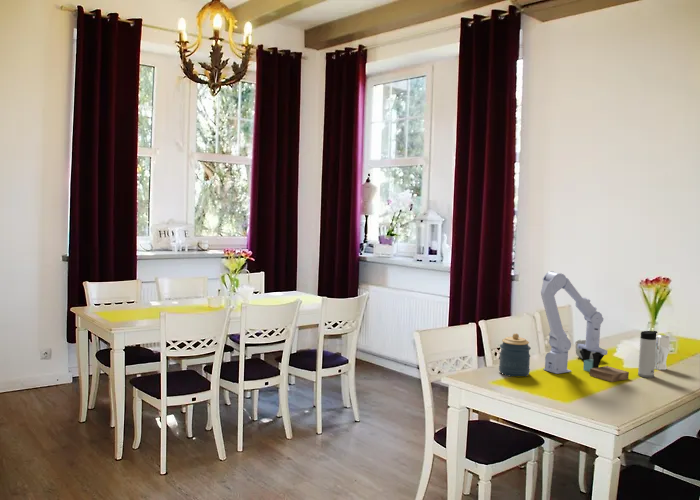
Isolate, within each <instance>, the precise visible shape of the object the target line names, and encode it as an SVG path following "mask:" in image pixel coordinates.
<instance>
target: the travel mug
mask: <svg viewBox="0 0 700 500" xmlns="http://www.w3.org/2000/svg"><path fill="white" fill-rule="evenodd" d="M657 334H658V331H657V330H643V331H641V332H640V337H639V338H640V339H639V351H638V352H639V355H638V372H637V376H639V377H641V378H645V379H652V378H654V377H655V369H654V366H655V351H656V335H657Z"/></svg>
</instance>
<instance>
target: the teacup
mask: <svg viewBox="0 0 700 500" xmlns="http://www.w3.org/2000/svg"><path fill="white" fill-rule="evenodd" d="M578 344H584V345H586V339H577V340H576V341H575V355H576V356H577V357H578V358H579V359H580V360H583V358H582V356H581V353H580V350H582V349H579V348H577V346H578ZM592 353H596V352H592V351H591V354H590V358H589V359H592V360H593V355H592Z"/></svg>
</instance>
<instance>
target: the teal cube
mask: <svg viewBox="0 0 700 500" xmlns="http://www.w3.org/2000/svg"><path fill="white" fill-rule="evenodd" d="M593 364H594V361H593V360H592V359H588V360H584V362H583V369H582V370H583V371H586V372H589V373H590V369H591V368H594V367H593Z"/></svg>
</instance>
